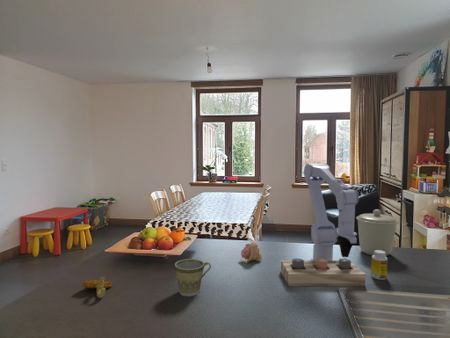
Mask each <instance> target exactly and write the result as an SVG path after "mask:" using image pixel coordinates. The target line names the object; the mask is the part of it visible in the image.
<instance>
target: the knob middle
mask: <svg viewBox="0 0 450 338" xmlns="http://www.w3.org/2000/svg"><path fill="white" fill-rule="evenodd" d="M327 262H328V261H327V260H325V259H316V261H315V268H316V269H327Z"/></svg>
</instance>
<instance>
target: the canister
mask: <svg viewBox="0 0 450 338" xmlns="http://www.w3.org/2000/svg"><path fill="white" fill-rule="evenodd" d="M355 218H356V220H357V227H358V230H357V231H358V239H359V240H358V241H359V247H360V250H361V252H363V253H364V254H366V255H370V256H373V255H374V251H375V250H381V251H384V252H386V256H385V257H387V256H389V255H390V254H391V253H392V250H393V247H394V241H395V237H396V236H395V235H396V231H397V230H396V229H397V224H398V223H399V220H398V219H396V218H395V217H393V216H391V215H387V214H382V211H381V210H380V209H374V210H373V211H372V213H362V214H359V215H358V216H356V217H355Z"/></svg>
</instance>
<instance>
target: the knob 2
mask: <svg viewBox="0 0 450 338" xmlns="http://www.w3.org/2000/svg"><path fill="white" fill-rule="evenodd" d="M338 261H339V266H338V268H339V269H351V262H352V261H351V259H347V258H338Z"/></svg>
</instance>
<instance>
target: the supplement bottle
mask: <svg viewBox="0 0 450 338" xmlns="http://www.w3.org/2000/svg"><path fill="white" fill-rule="evenodd" d="M370 267H371V268H370V276H371V278H373V279H376V280H379V281H380V280H382V281H383V280H386V279H387V276H388V275H387V274H388V257H387V256H386V252H384V251H381V250H375V251H374V255H371V266H370Z"/></svg>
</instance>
